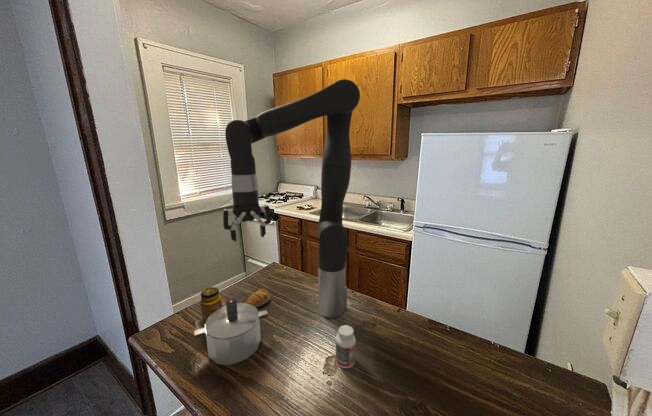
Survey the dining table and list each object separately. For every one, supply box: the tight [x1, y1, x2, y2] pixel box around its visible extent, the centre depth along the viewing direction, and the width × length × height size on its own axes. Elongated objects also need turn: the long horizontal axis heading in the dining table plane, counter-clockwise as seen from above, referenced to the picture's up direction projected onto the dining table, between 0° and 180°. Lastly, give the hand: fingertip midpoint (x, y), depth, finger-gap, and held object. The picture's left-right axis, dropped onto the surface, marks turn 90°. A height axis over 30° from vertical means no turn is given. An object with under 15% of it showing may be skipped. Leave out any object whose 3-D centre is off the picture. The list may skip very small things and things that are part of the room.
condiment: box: [194, 286, 223, 330], centre depth 81 cm, size 7×8×12 cm
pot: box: [193, 310, 269, 366], centre depth 73 cm, size 20×14×8 cm
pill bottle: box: [334, 324, 357, 369], centre depth 67 cm, size 5×5×10 cm
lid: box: [205, 298, 259, 339], centre depth 72 cm, size 14×14×8 cm
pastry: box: [244, 288, 271, 308], centre depth 94 cm, size 9×7×4 cm
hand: (248, 238), depth 81 cm, fingers open, 8 cm apart
